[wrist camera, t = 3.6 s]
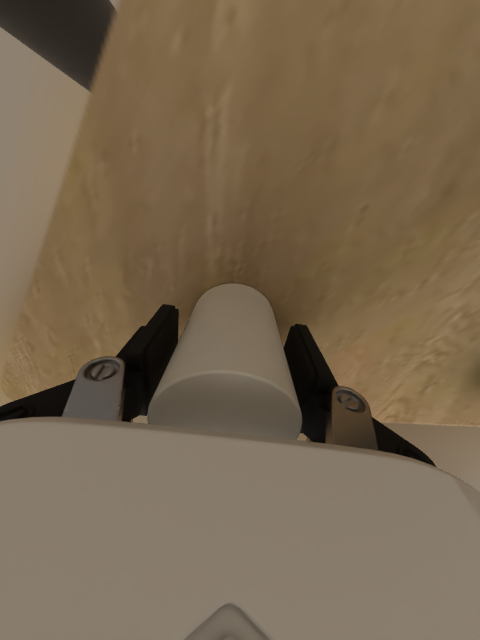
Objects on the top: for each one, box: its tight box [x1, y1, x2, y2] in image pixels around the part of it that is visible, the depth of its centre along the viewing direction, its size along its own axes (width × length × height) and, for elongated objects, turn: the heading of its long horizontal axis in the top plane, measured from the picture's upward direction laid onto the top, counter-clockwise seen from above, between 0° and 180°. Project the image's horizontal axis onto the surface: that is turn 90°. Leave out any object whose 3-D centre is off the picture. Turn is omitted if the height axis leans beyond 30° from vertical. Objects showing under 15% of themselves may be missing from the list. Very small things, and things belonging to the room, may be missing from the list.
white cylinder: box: [148, 283, 302, 440], centre depth 10 cm, size 5×5×7 cm
